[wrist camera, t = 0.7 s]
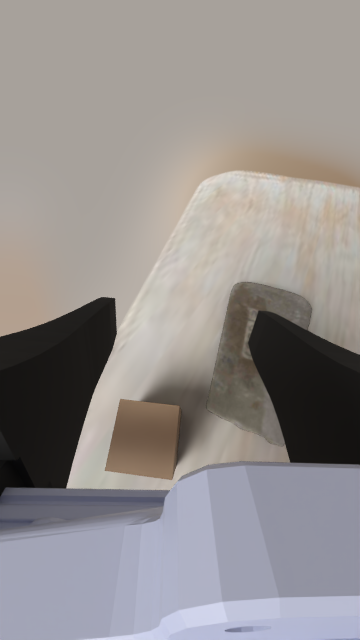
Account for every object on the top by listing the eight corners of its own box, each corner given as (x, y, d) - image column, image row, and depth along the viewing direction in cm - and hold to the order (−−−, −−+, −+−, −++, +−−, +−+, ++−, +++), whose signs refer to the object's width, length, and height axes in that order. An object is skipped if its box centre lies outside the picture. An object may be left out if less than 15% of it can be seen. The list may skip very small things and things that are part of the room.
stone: (235, 276, 30) (315, 291, 27) (233, 290, 32) (306, 304, 29) (194, 412, 21) (306, 453, 18) (195, 416, 23) (294, 453, 21)
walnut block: (176, 466, 21) (172, 479, 15) (125, 459, 21) (104, 470, 16) (181, 410, 23) (179, 405, 18) (135, 405, 23) (120, 399, 18)
